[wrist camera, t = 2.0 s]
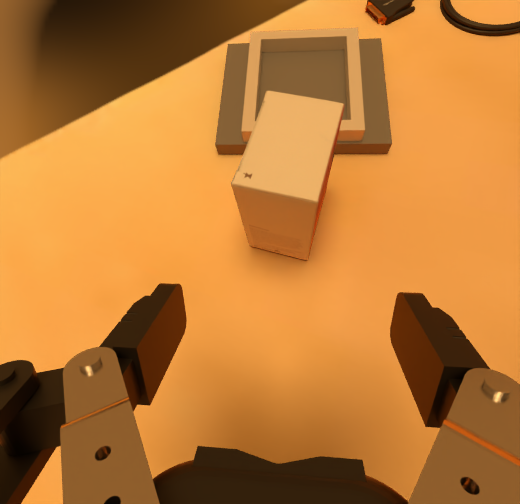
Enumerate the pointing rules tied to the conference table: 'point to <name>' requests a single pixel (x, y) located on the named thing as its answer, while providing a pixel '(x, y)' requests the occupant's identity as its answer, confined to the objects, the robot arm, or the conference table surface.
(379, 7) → the cable
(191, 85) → the conference table surface
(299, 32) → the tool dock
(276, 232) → the small box
